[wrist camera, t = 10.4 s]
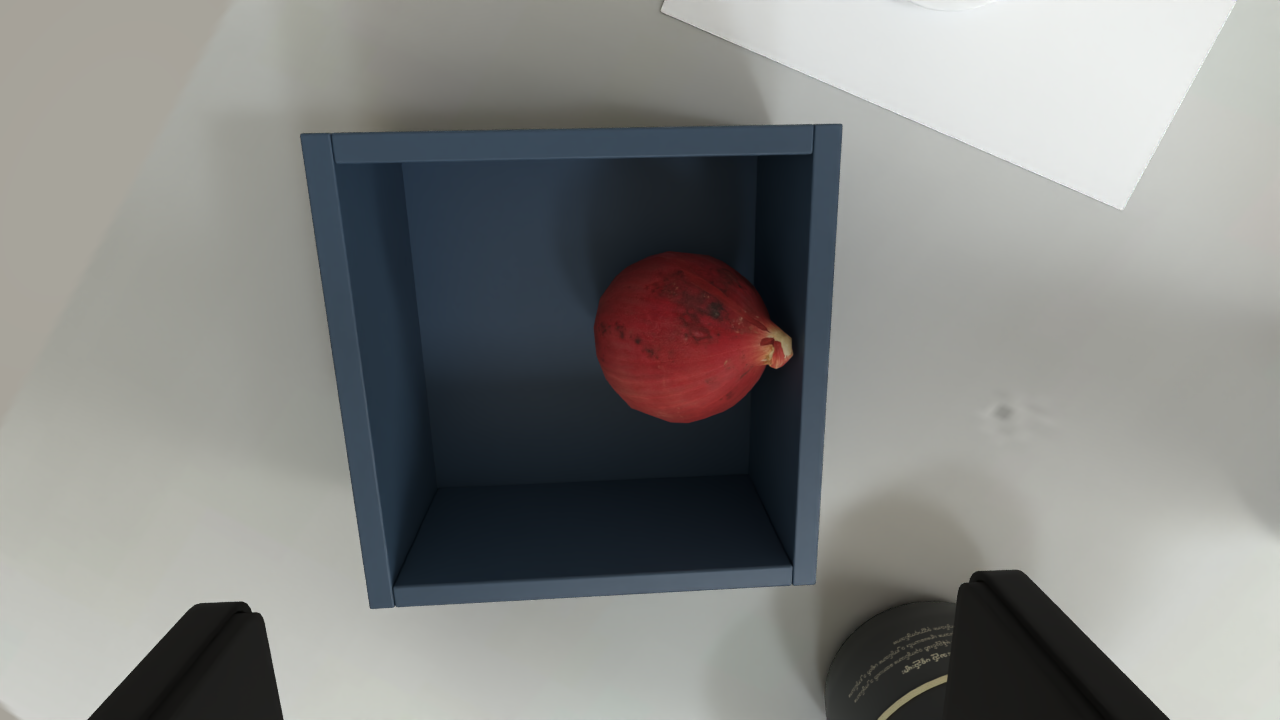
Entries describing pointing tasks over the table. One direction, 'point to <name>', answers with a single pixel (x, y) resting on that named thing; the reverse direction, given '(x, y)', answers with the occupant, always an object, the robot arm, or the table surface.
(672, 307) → the pomegranate
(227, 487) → the table surface
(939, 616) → the jar
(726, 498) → the bin
